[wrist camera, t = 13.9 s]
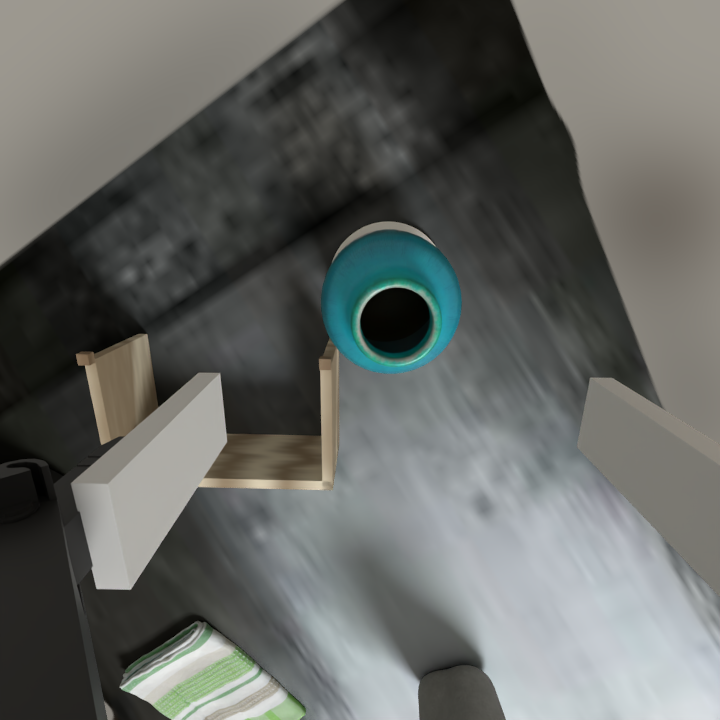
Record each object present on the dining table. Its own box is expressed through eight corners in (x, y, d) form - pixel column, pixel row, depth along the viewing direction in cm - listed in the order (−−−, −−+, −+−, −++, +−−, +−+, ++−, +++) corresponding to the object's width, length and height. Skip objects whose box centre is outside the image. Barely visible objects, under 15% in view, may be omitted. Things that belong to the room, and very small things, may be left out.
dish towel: (205, 612, 58) (195, 636, 55) (310, 703, 63) (306, 729, 60) (124, 664, 62) (110, 689, 58) (230, 745, 67) (223, 773, 64)
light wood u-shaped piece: (155, 439, 49) (104, 489, 40) (137, 327, 45) (75, 354, 35) (339, 443, 48) (332, 495, 39) (338, 331, 44) (330, 359, 35)
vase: (454, 301, 42) (519, 355, 24) (366, 351, 44) (364, 437, 26) (404, 207, 40) (434, 188, 21) (312, 265, 41) (269, 293, 23)
